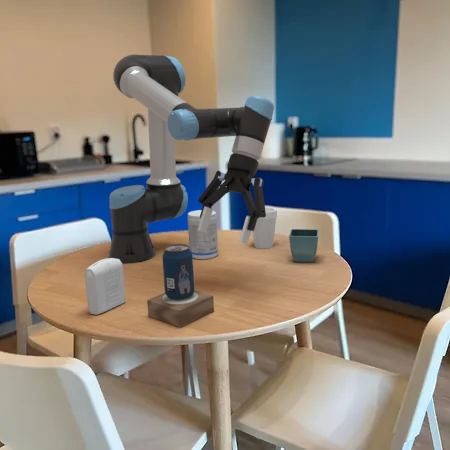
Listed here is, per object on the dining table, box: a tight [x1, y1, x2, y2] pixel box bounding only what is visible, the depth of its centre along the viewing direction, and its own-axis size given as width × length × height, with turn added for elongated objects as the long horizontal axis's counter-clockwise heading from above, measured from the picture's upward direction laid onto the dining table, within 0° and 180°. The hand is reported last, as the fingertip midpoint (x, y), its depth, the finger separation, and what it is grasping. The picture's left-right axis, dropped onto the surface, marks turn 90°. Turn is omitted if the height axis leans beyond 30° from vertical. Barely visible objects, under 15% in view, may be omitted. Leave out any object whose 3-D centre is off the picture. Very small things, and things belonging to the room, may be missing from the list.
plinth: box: [146, 289, 215, 328], centre depth 114 cm, size 11×11×4 cm
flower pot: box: [288, 228, 320, 263], centre depth 150 cm, size 9×9×9 cm
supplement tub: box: [187, 209, 219, 260], centre depth 159 cm, size 10×10×15 cm
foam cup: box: [252, 206, 278, 250], centre depth 167 cm, size 10×9×13 cm
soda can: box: [161, 243, 195, 301], centre depth 112 cm, size 7×7×12 cm
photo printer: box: [84, 257, 126, 315], centre depth 119 cm, size 10×4×12 cm, turn 147°
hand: (221, 237), depth 122 cm, fingers open, 13 cm apart
